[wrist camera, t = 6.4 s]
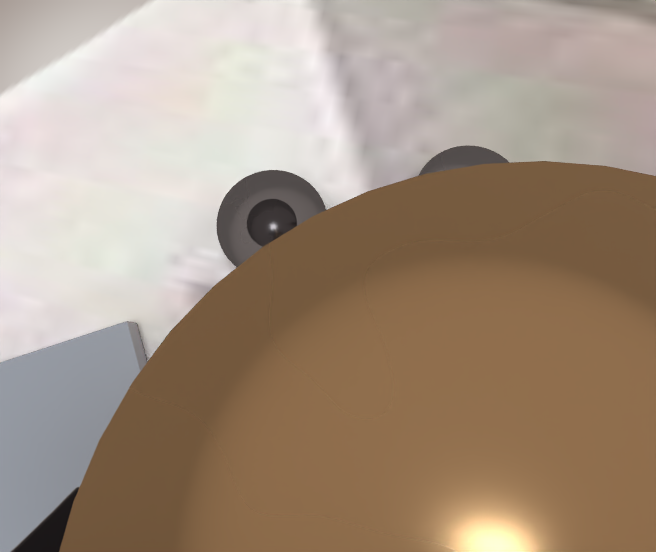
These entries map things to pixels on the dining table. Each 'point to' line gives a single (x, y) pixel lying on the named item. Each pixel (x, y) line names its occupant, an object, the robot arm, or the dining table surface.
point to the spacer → (263, 211)
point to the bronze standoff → (406, 381)
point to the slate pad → (58, 420)
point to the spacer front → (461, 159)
